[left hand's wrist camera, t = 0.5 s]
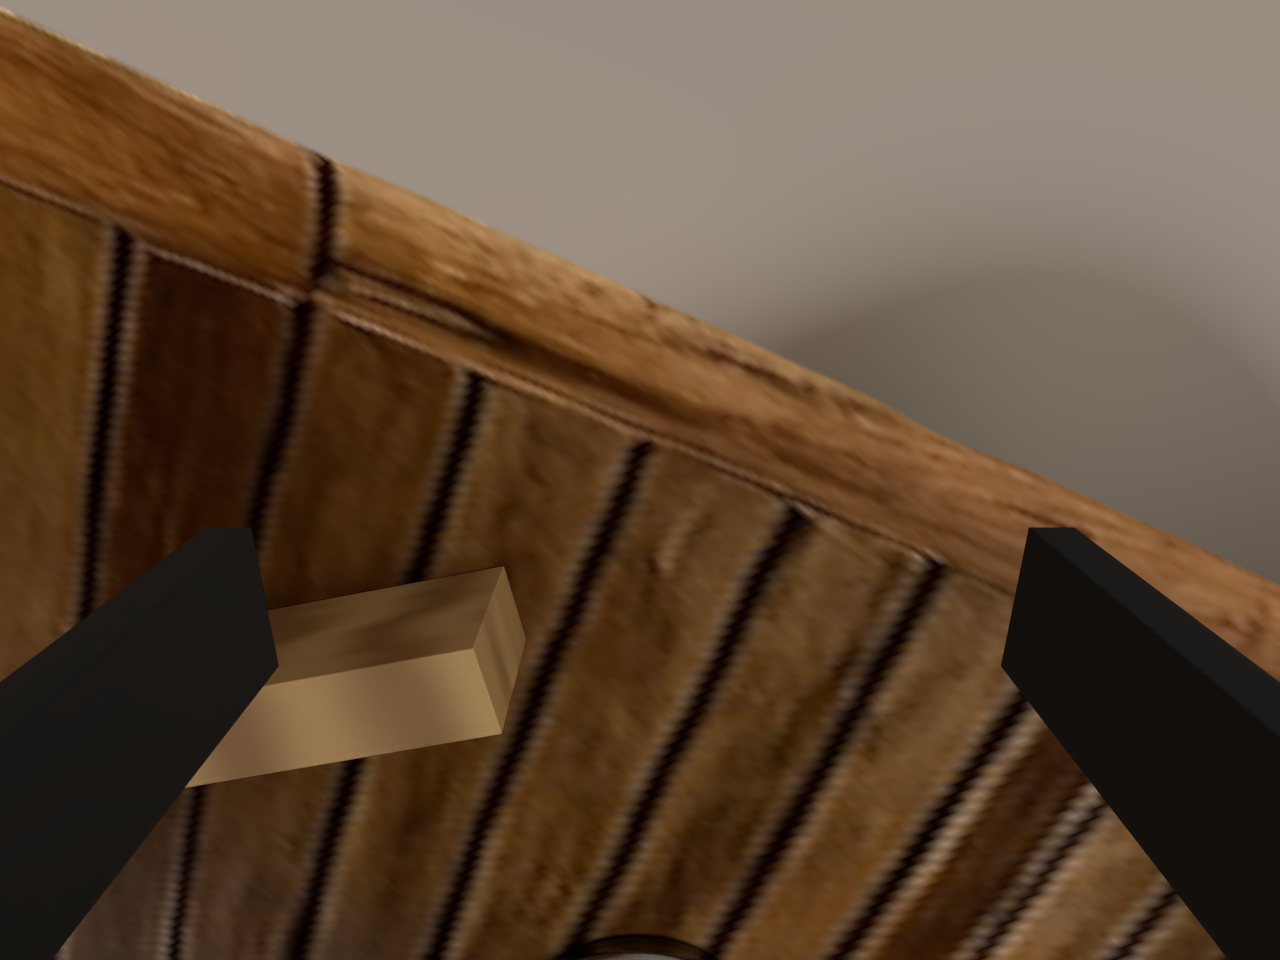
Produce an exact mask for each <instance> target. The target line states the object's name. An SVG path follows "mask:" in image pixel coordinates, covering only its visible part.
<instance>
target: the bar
mask: <svg viewBox="0 0 1280 960" xmlns="http://www.w3.org/2000/svg"><path fill="white" fill-rule="evenodd" d="M268 614H269V619H270V624H271V629H272V634H273V639H274V644H275V649H276V654H277V659H278V664H279V667H278V668H277V669H276V671H275V672H274V673H273V675H272V676H271V677H270V678H269V680H268V681H267V682H266V684H265V685H264V686H263V687H262V689H261V690H260V691H259V693H258V694H257V695H256V696H255V698H254V699H253V700H252V702H251V703H250V704H249V706H248V707H247V708H246V709H245V711H244V712H243V713H242V715H241V716H240V717H239V718H238V720H237V721H236V722H235V724H234V725H233V726H232V727H231V729H230V730H229V731H228V733H227V734H226V735H225V736H224V738H223V739H222V740H221V742H220V743H219V744H218V745H217V747H216V748H215V749H214V751H213V752H212V753H211V755H210V756H209V757H208V758H207V760H206V761H205V762H204V764H203V765H202V766H201V767H200V769H199V770H198V771H197V773H196V774H195V775H194V776H193V778H192V779H191V780H190V782H189V783H188V784H187V785H186V787H192V786H198V785H204V784H210V783H216V782H222V781H227V780H233V779H239V778H245V777H251V776H257V775H263V774H268V773H274V772H280V771H286V770H292V769H298V768H304V767H310V766H315V765H321V764H327V763H333V762H339V761H345V760H351V759H356V758H362V757H368V756H374V755H380V754H386V753H392V752H398V751H403V750H409V749H415V748H421V747H427V746H433V745H439V744H444V743H450V742H456V741H462V740H468V739H474V738H480V737H485V736H491V735H497V734H501V733H502V730H503V726H504V722H505V719H506V715H507V711H508V707H509V703H510V699H511V696H512V692H513V688H514V684H515V680H516V676H517V672H518V669H519V665H520V661H521V657H522V653H523V649H524V645H525V642H526V637H525V634H524V631H523V627H522V624H521V621H520V618H519V614H518V611H517V608H516V605H515V601H514V598H513V595H512V592H511V588H510V585H509V582H508V578H507V575H506V572H505V569H504V566H501V567H496V568H491V569H485V570H480V571H475V572H469V573H464V574H459V575H453V576H448V577H443V578H437V579H432V580H427V581H421V582H416V583H411V584H405V585H400V586H395V587H389V588H384V589H379V590H374V591H368V592H363V593H358V594H352V595H347V596H342V597H336V598H331V599H326V600H320V601H315V602H310V603H304V604H299V605H294V606H288V607H283V608H278V609H272V610H268ZM186 787H185V788H186Z"/></svg>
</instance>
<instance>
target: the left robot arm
mask: <svg viewBox="0 0 1280 960" xmlns="http://www.w3.org/2000/svg"><path fill="white" fill-rule="evenodd" d="M278 667H279V664H278V659H277V654H276V649H275V644H274V639H273V634H272V629H271V624H270V619H269V614H268V609H267V604H266V599H265V594H264V589H263V584H262V579H261V574H260V569H259V565H258V560H257V555H256V550H255V545H254V540H253V535H252V530H251V528H205V529H203V530H202V531H201V532H199V533H198V534H197V535H195V536H194V537H193V538H191V539H190V540H189V541H187V542H186V543H185V544H183V545H182V546H181V547H179V548H178V549H177V550H175V551H174V552H173V553H171V554H170V555H169V556H167V557H166V558H165V559H163V560H162V561H161V562H159V563H158V564H157V565H155V566H154V567H153V568H151V569H150V570H149V571H147V572H146V573H145V574H143V575H142V576H141V577H139V578H138V579H137V580H135V581H134V582H133V583H131V584H130V585H129V586H128V587H126V588H125V589H124V590H122V591H121V592H120V593H118V594H117V595H116V596H114V597H113V598H112V599H110V600H109V601H108V602H106V603H105V604H104V605H102V606H101V607H100V608H98V609H97V610H96V611H94V612H93V613H92V614H90V615H89V616H88V617H86V618H85V619H84V620H82V621H81V622H80V623H78V624H77V625H76V626H74V627H73V628H72V629H70V630H69V631H68V632H66V633H65V634H64V635H62V636H61V637H60V638H58V639H57V640H56V641H54V642H53V643H52V644H51V645H49V646H48V647H47V648H45V649H44V650H43V651H41V652H40V653H39V654H37V655H36V656H35V657H33V658H32V659H31V660H29V661H28V662H27V663H25V664H24V665H23V666H21V667H20V668H19V669H17V670H16V671H15V672H13V673H12V674H11V675H9V676H8V677H7V678H5V679H4V680H3V681H1V682H0V960H52V958H53V957H54V956H55V954H56V953H57V952H58V951H59V949H60V948H61V947H62V945H63V944H64V943H65V942H66V940H67V939H68V938H69V936H70V935H71V934H72V933H73V931H74V930H75V929H76V927H77V926H78V925H79V924H80V922H81V921H82V920H83V918H84V917H85V916H86V914H87V913H88V912H89V911H90V909H91V908H92V907H93V905H94V904H95V903H96V902H97V900H98V899H99V898H100V896H101V895H102V894H103V893H104V891H105V890H106V889H107V887H108V886H109V885H110V884H111V882H112V881H113V880H114V878H115V877H116V876H117V874H118V873H119V872H120V871H121V869H122V868H123V867H124V865H125V864H126V863H127V862H128V860H129V859H130V858H131V856H132V855H133V854H134V853H135V851H136V850H137V849H138V847H139V846H140V845H141V844H142V842H143V841H144V840H145V838H146V837H147V836H148V835H149V833H150V832H151V831H152V829H153V828H154V827H155V825H156V824H157V823H158V822H159V820H160V819H161V818H162V816H163V815H164V814H165V813H166V811H167V810H168V809H169V807H170V806H171V805H172V804H173V802H174V801H175V800H176V798H177V797H178V796H179V795H180V793H181V792H182V791H183V789H184V788H185V787H186V785H187V784H188V783H189V782H190V780H191V779H192V778H193V776H194V775H195V774H196V773H197V771H198V770H199V769H200V767H201V766H202V765H203V764H204V762H205V761H206V760H207V758H208V757H209V756H210V755H211V753H212V752H213V751H214V749H215V748H216V747H217V745H218V744H219V743H220V742H221V740H222V739H223V738H224V736H225V735H226V734H227V733H228V731H229V730H230V729H231V727H232V726H233V725H234V724H235V722H236V721H237V720H238V718H239V717H240V716H241V715H242V713H243V712H244V711H245V709H246V708H247V707H248V706H249V704H250V703H251V702H252V700H253V699H254V698H255V696H256V695H257V694H258V693H259V691H260V690H261V689H262V687H263V686H264V685H265V684H266V682H267V681H268V680H269V678H270V677H271V676H272V675H273V673H274V672H275V671H276V669H277V668H278ZM1001 667H1002V668H1003V669H1004V671H1005V672H1006V673H1007V675H1008V676H1009V677H1010V678H1011V680H1012V681H1013V682H1014V684H1015V685H1016V686H1017V687H1018V689H1019V690H1020V691H1021V693H1022V694H1023V695H1024V696H1025V698H1026V699H1027V700H1028V702H1029V703H1030V704H1031V706H1032V707H1033V708H1034V709H1035V711H1036V712H1037V713H1038V715H1039V716H1040V717H1041V718H1042V720H1043V721H1044V722H1045V724H1046V725H1047V726H1048V727H1049V729H1050V730H1051V731H1052V733H1053V734H1054V735H1055V736H1056V738H1057V739H1058V740H1059V742H1060V743H1061V744H1062V745H1063V747H1064V748H1065V749H1066V751H1067V752H1068V753H1069V755H1070V756H1071V757H1072V758H1073V760H1074V761H1075V762H1076V764H1077V765H1078V766H1079V767H1080V769H1081V770H1082V771H1083V773H1084V774H1085V775H1086V776H1087V778H1088V779H1089V780H1090V782H1091V783H1092V784H1093V785H1094V787H1095V788H1096V789H1097V791H1098V792H1099V793H1100V795H1101V796H1102V797H1103V798H1104V800H1105V801H1106V802H1107V804H1108V805H1109V806H1110V807H1111V809H1112V810H1113V811H1114V813H1115V814H1116V815H1117V816H1118V818H1119V819H1120V820H1121V822H1122V823H1123V824H1124V825H1125V827H1126V828H1127V829H1128V831H1129V832H1130V833H1131V835H1132V836H1133V837H1134V838H1135V840H1136V841H1137V842H1138V844H1139V845H1140V846H1141V847H1142V849H1143V850H1144V851H1145V853H1146V854H1147V855H1148V856H1149V858H1150V859H1151V860H1152V862H1153V863H1154V864H1155V865H1156V867H1157V868H1158V869H1159V871H1160V872H1161V873H1162V875H1163V876H1164V877H1165V878H1166V880H1167V881H1168V882H1169V884H1170V885H1171V886H1172V887H1173V889H1174V890H1175V891H1176V893H1177V894H1178V895H1179V896H1180V898H1181V899H1182V900H1183V902H1184V903H1185V904H1186V905H1187V907H1188V908H1189V909H1190V911H1191V912H1192V913H1193V914H1194V916H1195V917H1196V918H1197V920H1198V921H1199V922H1200V924H1201V925H1202V926H1203V927H1204V929H1205V930H1206V931H1207V933H1208V934H1209V935H1210V936H1211V938H1212V939H1213V940H1214V942H1215V943H1216V944H1217V945H1218V947H1219V948H1220V949H1221V951H1222V952H1223V953H1224V954H1225V956H1226V957H1227V958H1228V960H1280V682H1279V681H1277V680H1276V679H1275V678H1273V677H1272V676H1271V675H1269V674H1268V673H1267V672H1265V671H1264V670H1263V669H1261V668H1260V667H1259V666H1257V665H1256V664H1255V663H1253V662H1252V661H1251V660H1249V659H1248V658H1247V657H1245V656H1244V655H1243V654H1241V653H1240V652H1239V651H1237V650H1236V649H1235V648H1233V647H1232V646H1231V645H1229V644H1228V643H1227V642H1226V641H1224V640H1223V639H1222V638H1220V637H1219V636H1218V635H1216V634H1215V633H1214V632H1212V631H1211V630H1210V629H1208V628H1207V627H1206V626H1204V625H1203V624H1202V623H1200V622H1199V621H1198V620H1196V619H1195V618H1194V617H1192V616H1191V615H1190V614H1188V613H1187V612H1186V611H1184V610H1183V609H1182V608H1180V607H1179V606H1178V605H1176V604H1175V603H1174V602H1172V601H1171V600H1170V599H1168V598H1167V597H1166V596H1164V595H1163V594H1162V593H1160V592H1159V591H1158V590H1156V589H1155V588H1154V587H1152V586H1151V585H1150V584H1149V583H1147V582H1146V581H1145V580H1143V579H1142V578H1141V577H1139V576H1138V575H1137V574H1135V573H1134V572H1133V571H1131V570H1130V569H1129V568H1127V567H1126V566H1125V565H1123V564H1122V563H1121V562H1119V561H1118V560H1117V559H1115V558H1114V557H1113V556H1111V555H1110V554H1109V553H1107V552H1106V551H1105V550H1103V549H1102V548H1101V547H1099V546H1098V545H1097V544H1095V543H1094V542H1093V541H1091V540H1090V539H1089V538H1087V537H1086V536H1085V535H1083V534H1082V533H1081V532H1079V531H1078V530H1077V529H1075V528H1029V530H1028V535H1027V540H1026V545H1025V550H1024V555H1023V560H1022V565H1021V569H1020V574H1019V579H1018V584H1017V589H1016V594H1015V599H1014V604H1013V609H1012V614H1011V619H1010V624H1009V629H1008V634H1007V639H1006V644H1005V649H1004V654H1003V659H1002V664H1001ZM560 960H717V959H715V958H714V957H712V956H710V955H709V954H707V953H705V952H703V951H701V950H699V949H696V948H694V947H691V946H689V945H686V944H683V943H679V942H675V941H671V940H666V939H659V938H648V937H628V938H618V939H612V940H606V941H602V942H598V943H595V944H591V945H588V946H586V947H583V948H581V949H578V950H576V951H574V952H572V953H570V954H568V955H567V956H565V957H564V958H562V959H560Z"/></svg>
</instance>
